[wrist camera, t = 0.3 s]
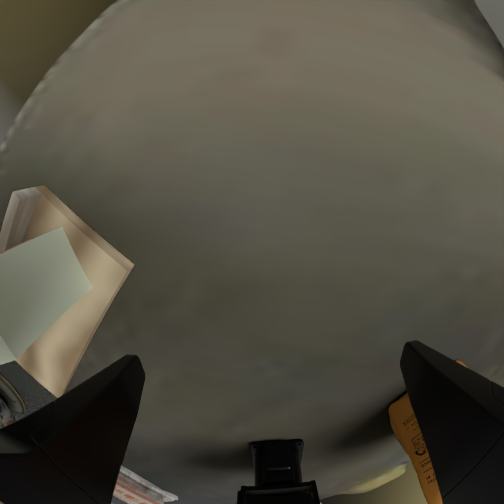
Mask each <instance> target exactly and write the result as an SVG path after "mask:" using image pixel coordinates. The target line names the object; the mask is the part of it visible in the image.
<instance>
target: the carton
mask: <svg viewBox="0 0 504 504" xmlns="http://www.w3.org/2000/svg"><path fill="white" fill-rule="evenodd" d="M91 289H92V286H91V284H90V282H89V280H88V278H87V277H86V275H85V273H84V271H83V269H82V267H81V265H80V263H79V261H78V259H77V257H76V255H75V253H74V251H73V249H72V247H71V245H70V243H69V240H68V238H67V236H66V234H65V232H64V229H63V227H60V228H57V229H55V230H52V231H50V232H48V233H45V234H43V235H41V236H39V237H36V238H34V239H30V240H27V241H25V242H23V243H21V244H19V245H16V246H14V247H12V248H10V249H8V250H6V251H4V252H2V253H0V365H1V364H5V363H8V362H11V361H14V360H17V359H18V358H19V357H20V356H21V355H22V354H23V353H24V352H25V351H26V350H27V349H28V348H29V347H30V346H31V345H32V344H33V343H34V342H35V341H36V340H37V339H38V338H39V337H40V336H41V335H42V334H43V333H44V332H45V331H46V330H47V329H48V328H49V327H50V326H51V325H52V324H53V323H54V322H56V321H57V320H58V319H59V318H60V317H61V316H62V315H63V314H64V313H65V312H66V311H67V310H69V309H70V308H71V307H72V306H73V305H74V304H75V303H76V302H77V301H79V300H80V299H81V298H82V297H83V296H84V295H85V294H86V293H88V292H89V291H90V290H91Z"/></svg>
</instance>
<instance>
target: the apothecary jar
mask: <svg viewBox="0 0 504 504" xmlns="http://www.w3.org/2000/svg"><path fill="white" fill-rule="evenodd" d="M9 408H10V409H12V410H14V411H16V412H18V413H24V412H25V411H26V407H25V404H24V402H23V400H22V398H21V397H20V395H19V394H18V392H17V391H16V390H15V389H14V387H13V386H12V385H11V384H10V383H9V382H8V381H7V380H6V379H5V378H4V377H3V376H2V375H1V374H0V428H3V427H5V426H7V425H9V424H11V423H13V422H15V421H16V420H15V418H14V416H13V414H12V412H11V410H10V409H9Z"/></svg>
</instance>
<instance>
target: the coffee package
mask: <svg viewBox="0 0 504 504" xmlns="http://www.w3.org/2000/svg"><path fill="white" fill-rule="evenodd" d="M456 362H458V363H459V364H461V365H463V366H465V365H464V364H463V363H462V362H460V361H459V360H456ZM465 367H467V366H465ZM388 412H389V417H390V422H391V426H392V429H393V431H394V433H395V436H396V438H397V440H398V441H399V443H400V444H401V446H402V447H403V449H404V450H405V452H406V453H407V454H408V455H409V457H410V459H411V461H412V464H413V467H414V468H415V470H416V473H417V475H418V479H419V482H420V486H421V488H422V491H423V493H424V496H425V498H426V500H427V502H428V504H443V503H442V498H441V495H440V491H439V487H438V484H437V480H436V477H435V473H434V470H433V467H432V464H431V460H430V457H429V454H428V451H427V448H426V445H425V442H424V439H423V436H422V433H421V431H420V428H419V425H418V422H417V420H416V417H415V414H414V412H413V409H412V406H411V403H410V400H409V397H408V393H406V394H405V395H404V396H403V397H402V398H400V399H399V400H398V401H396V402H394V403H393V404H391V405H390V407H389V410H388Z"/></svg>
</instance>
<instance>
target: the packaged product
mask: <svg viewBox="0 0 504 504" xmlns="http://www.w3.org/2000/svg"><path fill="white" fill-rule="evenodd" d="M113 495H114V496H115V497H117V498H119V499H121V500H123V501H124V502H126V503H128V504H164V502H168V501H174V500H175V499H176V500H178V497H177V496H175V495H173V494H171V493H169V492H167V491H165V490H162V489H160V488H159V487H157V486H156V485H154V484H152V483H150V482H148V481H147V480H145V479H143V478H141V477H140V476H138V475H137V474H135V473H133V472H132V471H130V470H128V469H126V468H125V467H123V466H122V465H121V469H120V472H119V475H118V479H117V482H116V486H115V489H114V493H113Z"/></svg>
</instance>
